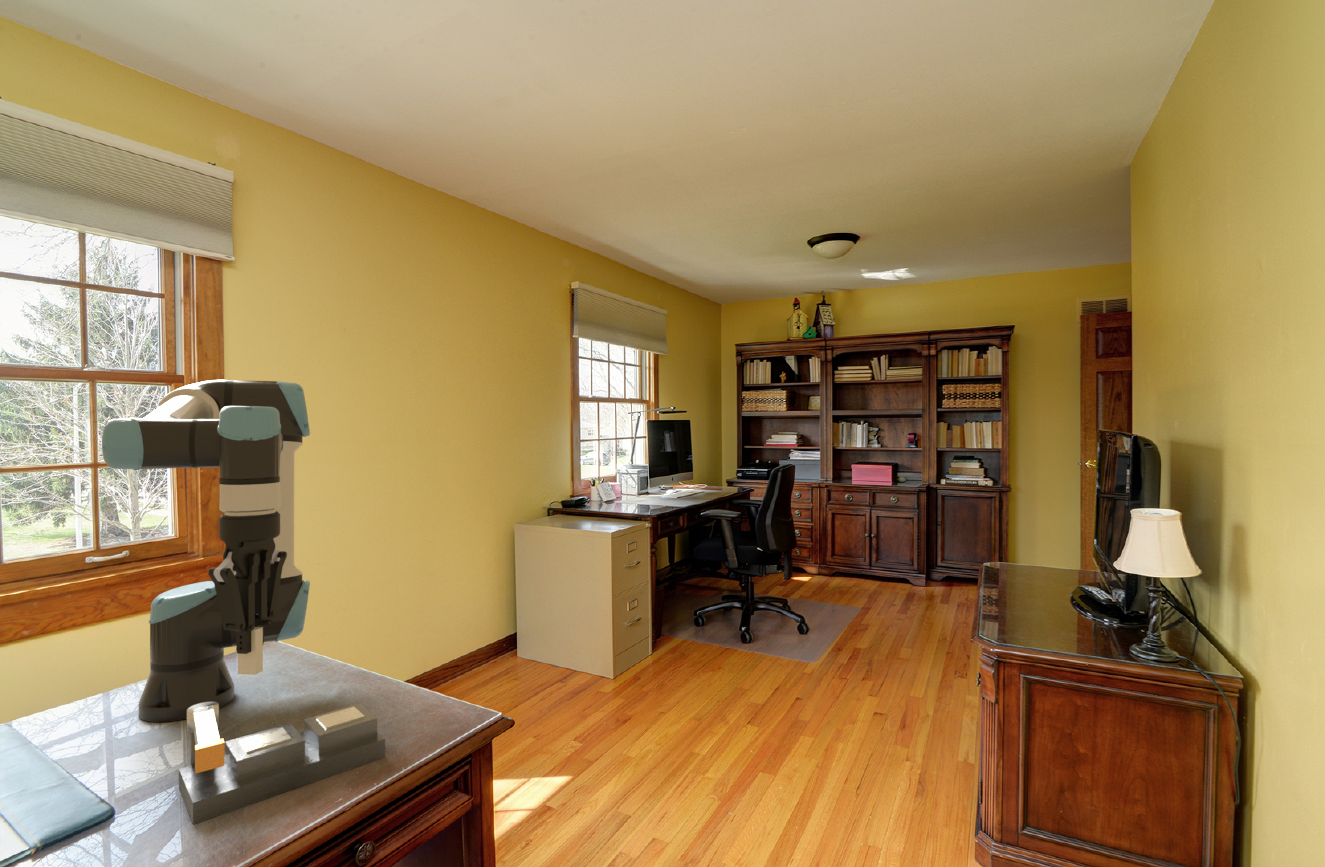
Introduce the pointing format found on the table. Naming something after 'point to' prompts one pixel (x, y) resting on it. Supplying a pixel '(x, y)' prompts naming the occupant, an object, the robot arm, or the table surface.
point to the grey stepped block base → (281, 761)
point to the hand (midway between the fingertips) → (250, 672)
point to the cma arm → (206, 735)
